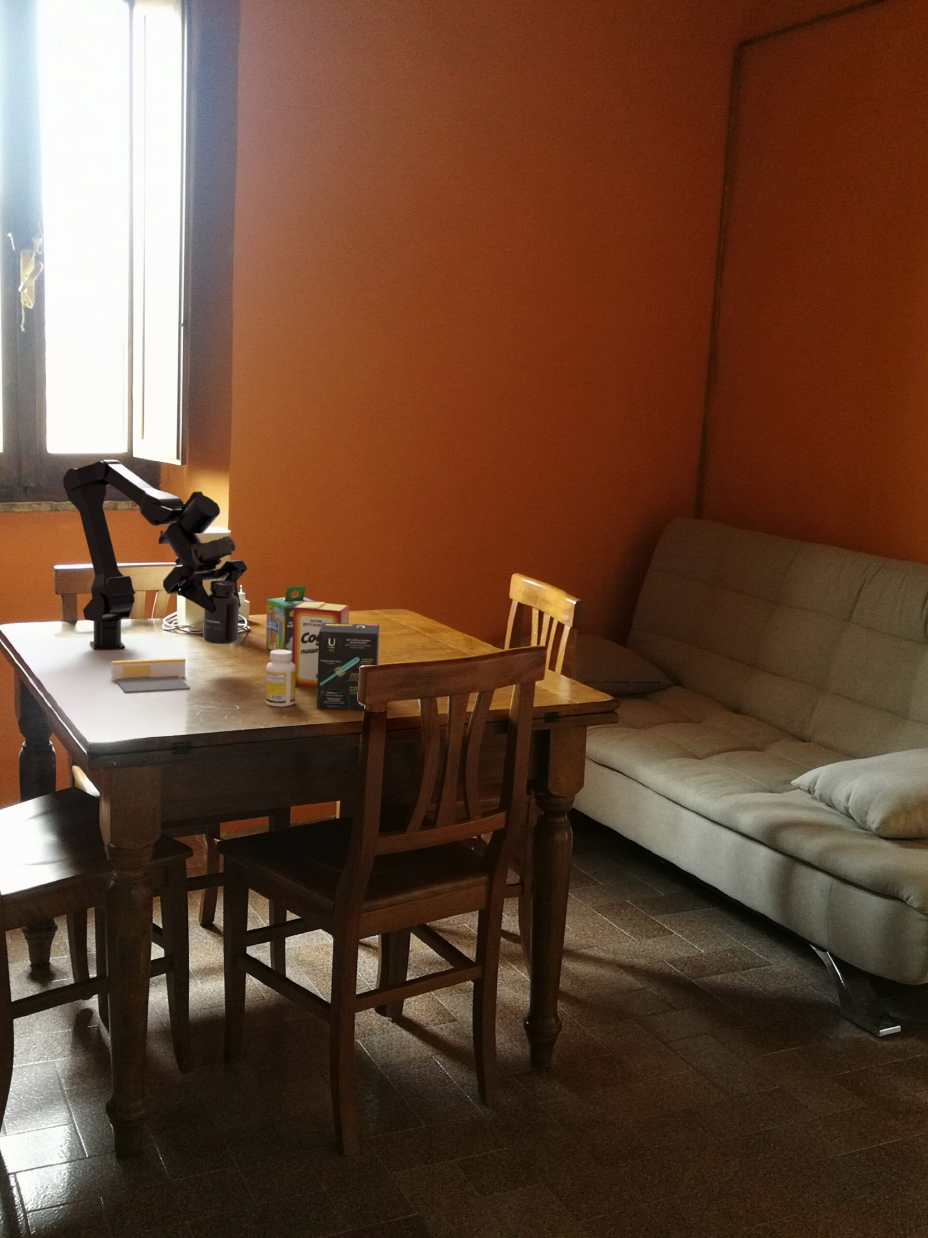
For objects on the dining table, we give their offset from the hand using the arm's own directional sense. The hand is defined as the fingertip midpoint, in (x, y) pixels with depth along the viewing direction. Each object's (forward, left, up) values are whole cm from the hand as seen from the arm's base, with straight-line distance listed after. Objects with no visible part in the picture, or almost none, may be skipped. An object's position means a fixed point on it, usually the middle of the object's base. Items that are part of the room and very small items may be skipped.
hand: (226, 609), depth 236 cm
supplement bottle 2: (+25, +4, -13) cm, 29 cm away
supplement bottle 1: (-1, -1, -7) cm, 7 cm away
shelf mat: (+6, -16, -13) cm, 21 cm away
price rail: (0, -15, -13) cm, 20 cm away
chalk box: (-18, +20, -13) cm, 30 cm away
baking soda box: (+12, +16, -13) cm, 24 cm away
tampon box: (+28, +16, -13) cm, 35 cm away
